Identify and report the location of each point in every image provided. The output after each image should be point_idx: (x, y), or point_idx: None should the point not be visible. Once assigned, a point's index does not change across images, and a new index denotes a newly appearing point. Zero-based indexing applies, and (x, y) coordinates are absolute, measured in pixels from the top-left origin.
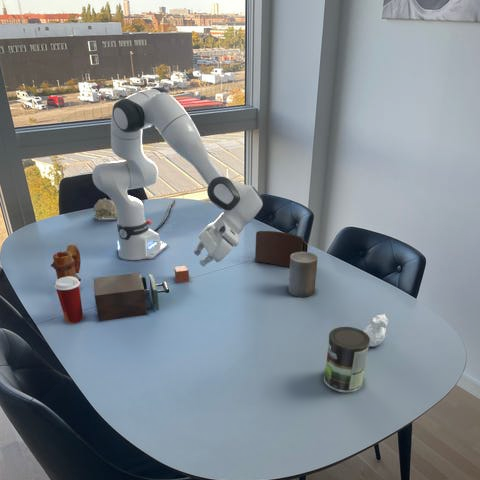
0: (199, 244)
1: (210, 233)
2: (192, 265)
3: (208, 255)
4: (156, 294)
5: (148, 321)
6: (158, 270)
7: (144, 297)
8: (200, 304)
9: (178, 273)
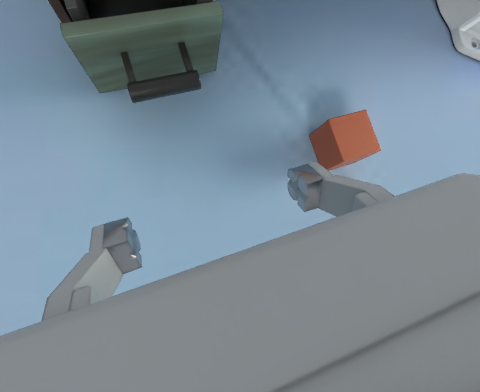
0: (361, 192)
1: (451, 333)
2: (431, 173)
3: (51, 314)
4: (72, 50)
5: (42, 70)
6: (384, 74)
7: (53, 8)
8: (158, 225)
9: (326, 129)
